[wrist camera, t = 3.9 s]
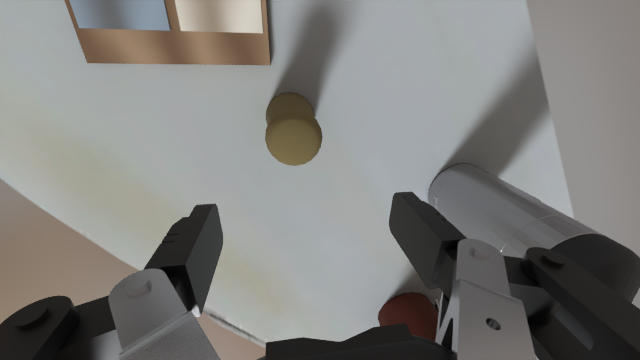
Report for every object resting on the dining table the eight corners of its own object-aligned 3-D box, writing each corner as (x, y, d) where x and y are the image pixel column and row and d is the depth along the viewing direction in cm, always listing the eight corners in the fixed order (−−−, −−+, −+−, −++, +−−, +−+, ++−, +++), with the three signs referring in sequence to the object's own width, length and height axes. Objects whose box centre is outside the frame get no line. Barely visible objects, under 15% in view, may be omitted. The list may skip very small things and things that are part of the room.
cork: (263, 92, 29) (255, 107, 19) (313, 92, 30) (330, 106, 20) (267, 141, 32) (262, 176, 22) (314, 139, 33) (328, 173, 23)
